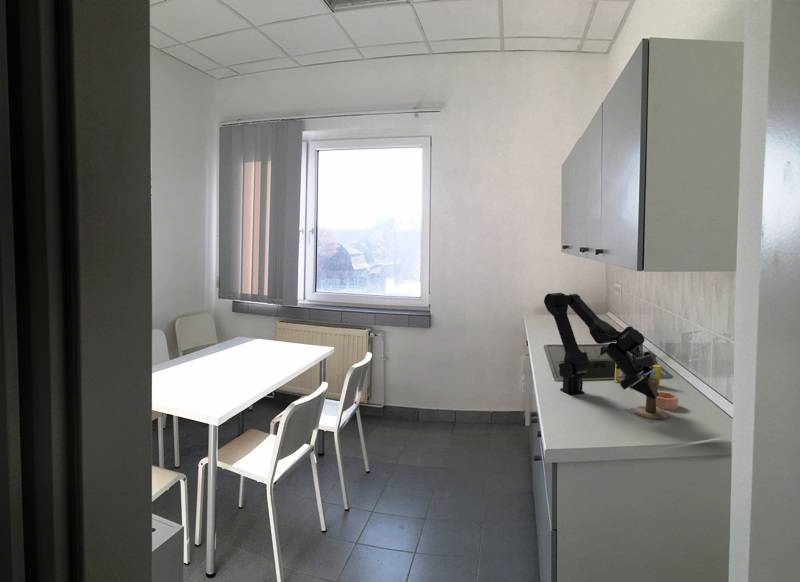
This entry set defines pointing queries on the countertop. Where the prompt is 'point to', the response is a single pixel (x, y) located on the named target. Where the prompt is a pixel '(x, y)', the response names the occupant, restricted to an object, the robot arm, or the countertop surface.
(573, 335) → the robot arm
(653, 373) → the candy box
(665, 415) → the walnut cover
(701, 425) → the countertop surface
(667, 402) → the terracotta bowl
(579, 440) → the countertop surface
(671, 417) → the grey rubber mat
